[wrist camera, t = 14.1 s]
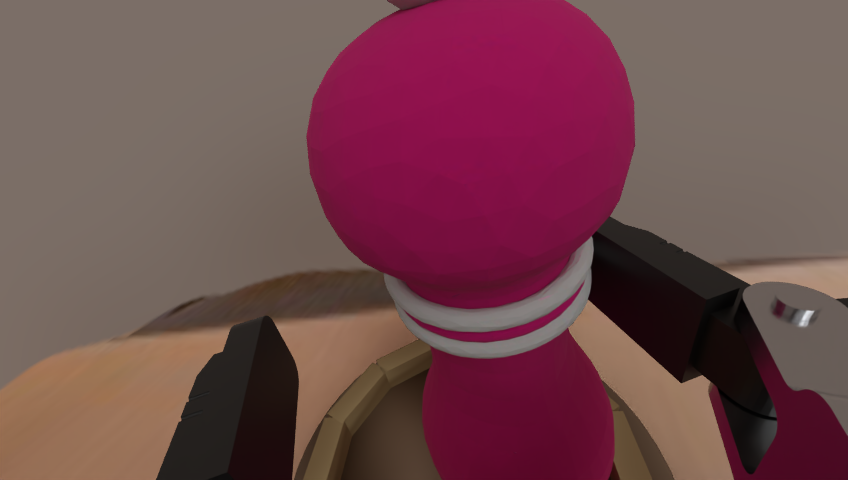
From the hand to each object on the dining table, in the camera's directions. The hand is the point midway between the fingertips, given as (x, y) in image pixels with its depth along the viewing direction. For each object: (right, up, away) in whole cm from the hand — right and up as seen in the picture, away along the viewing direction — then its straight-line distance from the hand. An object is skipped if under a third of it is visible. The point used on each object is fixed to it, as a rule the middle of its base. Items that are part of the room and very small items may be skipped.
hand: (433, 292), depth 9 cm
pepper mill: (+4, -9, +7) cm, 13 cm away
